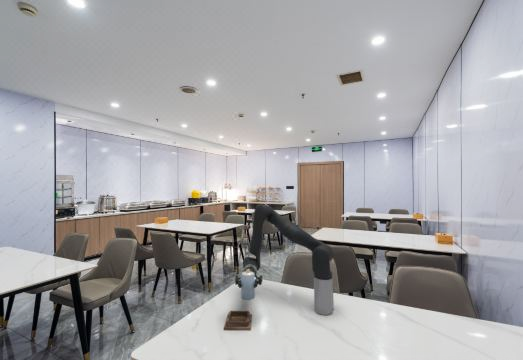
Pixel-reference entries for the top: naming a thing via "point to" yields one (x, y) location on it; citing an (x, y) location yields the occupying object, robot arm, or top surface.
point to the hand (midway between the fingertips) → (247, 286)
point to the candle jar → (247, 285)
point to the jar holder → (238, 320)
